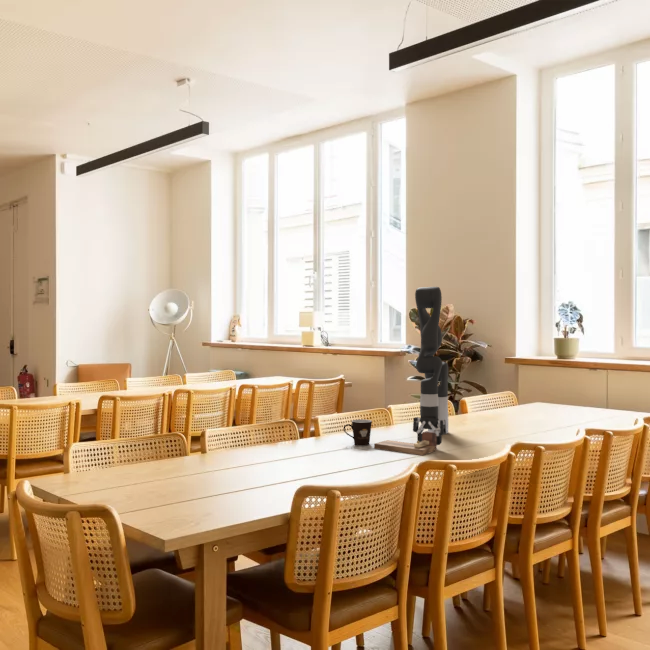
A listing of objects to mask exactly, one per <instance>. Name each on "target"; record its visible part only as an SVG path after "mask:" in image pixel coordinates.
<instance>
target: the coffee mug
mask: <svg viewBox="0 0 650 650" xmlns="http://www.w3.org/2000/svg"><path fill="white" fill-rule="evenodd" d="M372 421H373V420H371V419H352V420H351V424H345V425H344V426H343V432H344V433H345V434H346V435H347V436H349V437H351V438H352V439H353V443H354V446H358V447H359V446H369V445H370V441H371V432H372V423H373V422H372ZM347 426H348V427H350V428H351V429H352V435H351V434H350V433H348V432H347V431H346V427H347Z"/></svg>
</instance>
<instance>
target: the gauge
mask: <svg viewBox="0 0 650 650" xmlns="http://www.w3.org/2000/svg"><path fill="white" fill-rule="evenodd" d="M436 436H437V435H436V433H435V432H431V431H428V430H426V431H423V432H422V441H421V442H419V441H418V440H416V442H414V447H416V448H420V447H423V446H426V445H429V446H435V450H437V446H438V445H437V444H436Z"/></svg>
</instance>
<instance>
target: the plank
mask: <svg viewBox="0 0 650 650" xmlns="http://www.w3.org/2000/svg"><path fill="white" fill-rule="evenodd" d="M414 443H415V442H414ZM414 443H413V442H404V441H398V440H390V439H387V440H383V441H379V442H374V445H373V446H374V449H377V450H383V451H389V452H390V451H391V452H398V453H404V454H412V455H418V456H419V455H420V456H423V455H427V454H430V453H434V452H436V449H435V446H429V445H426V446H423V447H420V448H416V447H414Z"/></svg>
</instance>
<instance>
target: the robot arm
mask: <svg viewBox="0 0 650 650" xmlns="http://www.w3.org/2000/svg"><path fill="white" fill-rule="evenodd" d="M414 296H415V304H416V310H417V315H418V321H419V322H418V323H419V331H420V350H419V353H418V357H417V360H416V364H415V367H416V368H415V369H416V371H417V372H418V373H419V374H424V377H425V378H424V379H422V380H421V381H420V397H419V410H420V411H419V416H420V417H418V416H417V417H413V422H412V425H413V426H412V432H413V433H416V434H417V437H416V438H417V440H416V441H419V442H421V441H422V432H424V430H427V431H431V432H435V433H436V444H437V446H440V445H441V444H442V442H443V441H442V438H443V437H442V436H443V435H446V434H449V401H448V400H449V397H448V395H449V393H448V392H449V390H448V389H449V385H448V384H449V364H448V363H447V361H443V360H442V359H441V358H440V357H439V356H438V355H437V356H435V354H436V353H437V351H438V350H439V348H440V347H441V345H442V343H443V337H442V329H441V326H440V318H441V309H442V303H443V302H442V298H443V297H442V291H441V288H440V287H439V286H427V287H426V286H422V287H418V288H416V290H415V293H414ZM427 309H432V313H431V315H430V314H429V312H428V311H427ZM439 382H440V384H439ZM420 423H421V424H420ZM419 424H420V426H419Z"/></svg>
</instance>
